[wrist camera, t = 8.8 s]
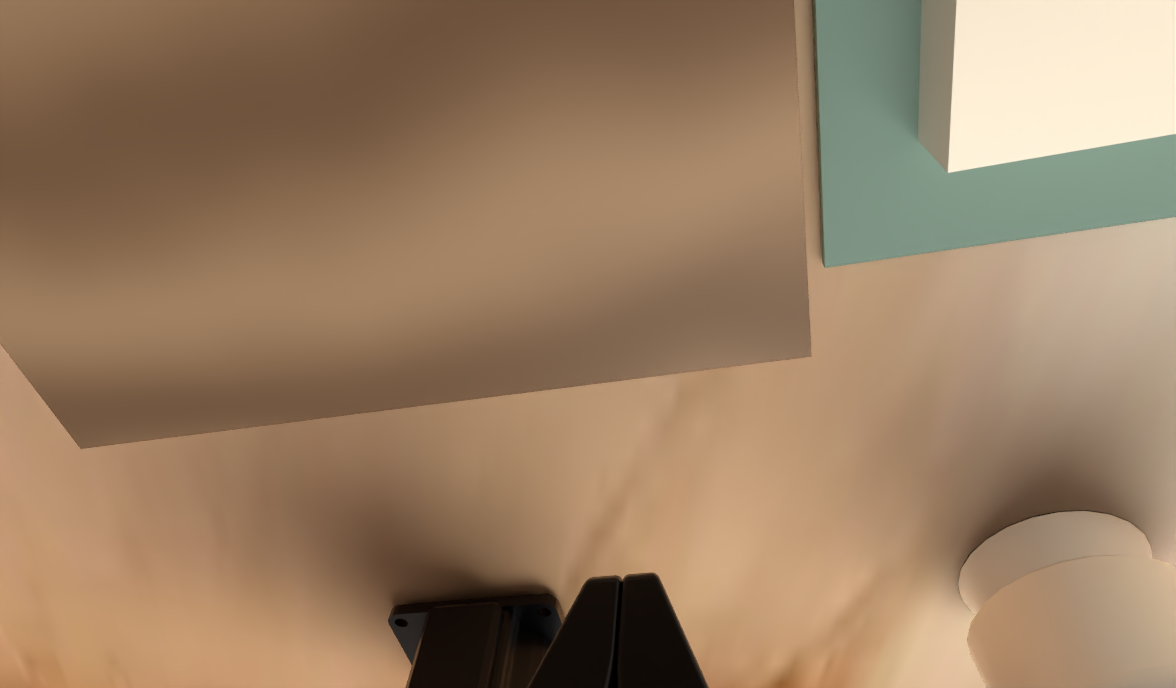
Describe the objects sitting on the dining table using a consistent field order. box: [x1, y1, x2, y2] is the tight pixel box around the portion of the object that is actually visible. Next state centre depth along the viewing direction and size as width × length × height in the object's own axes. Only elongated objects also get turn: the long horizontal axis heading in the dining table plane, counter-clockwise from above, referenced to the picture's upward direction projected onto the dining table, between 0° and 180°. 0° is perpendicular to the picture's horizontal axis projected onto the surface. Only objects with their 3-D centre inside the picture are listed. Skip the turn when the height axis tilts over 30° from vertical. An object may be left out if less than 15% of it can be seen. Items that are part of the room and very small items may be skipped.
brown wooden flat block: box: [0, 0, 811, 449], centre depth 15 cm, size 14×18×4 cm
